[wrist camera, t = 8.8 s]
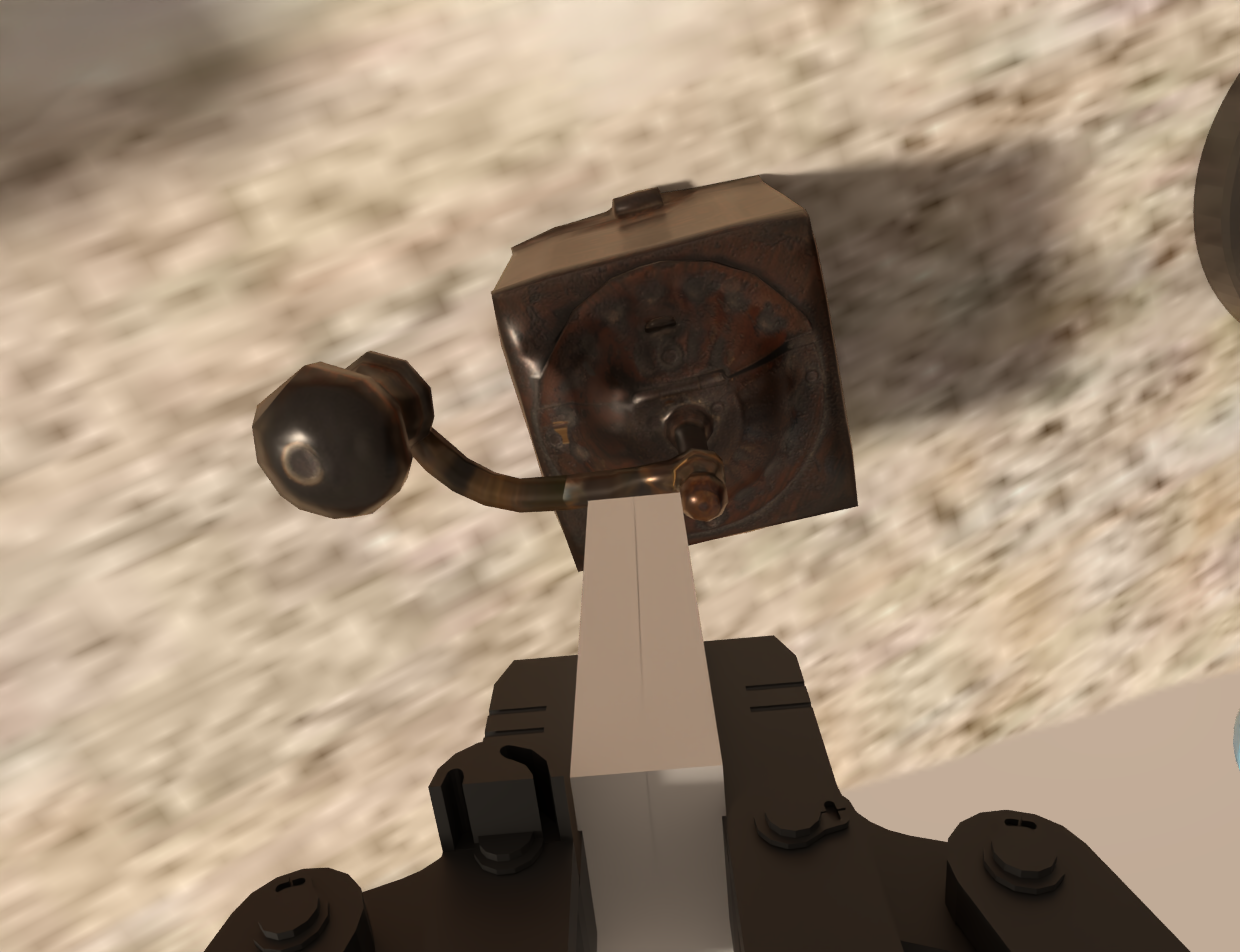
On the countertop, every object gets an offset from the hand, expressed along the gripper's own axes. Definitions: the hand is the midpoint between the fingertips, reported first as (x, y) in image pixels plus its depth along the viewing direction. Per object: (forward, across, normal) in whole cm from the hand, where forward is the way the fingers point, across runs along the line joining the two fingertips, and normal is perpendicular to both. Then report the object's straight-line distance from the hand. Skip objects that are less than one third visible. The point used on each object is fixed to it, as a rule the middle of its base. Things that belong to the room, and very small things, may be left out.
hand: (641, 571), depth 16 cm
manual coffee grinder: (+24, -1, -2) cm, 24 cm away
